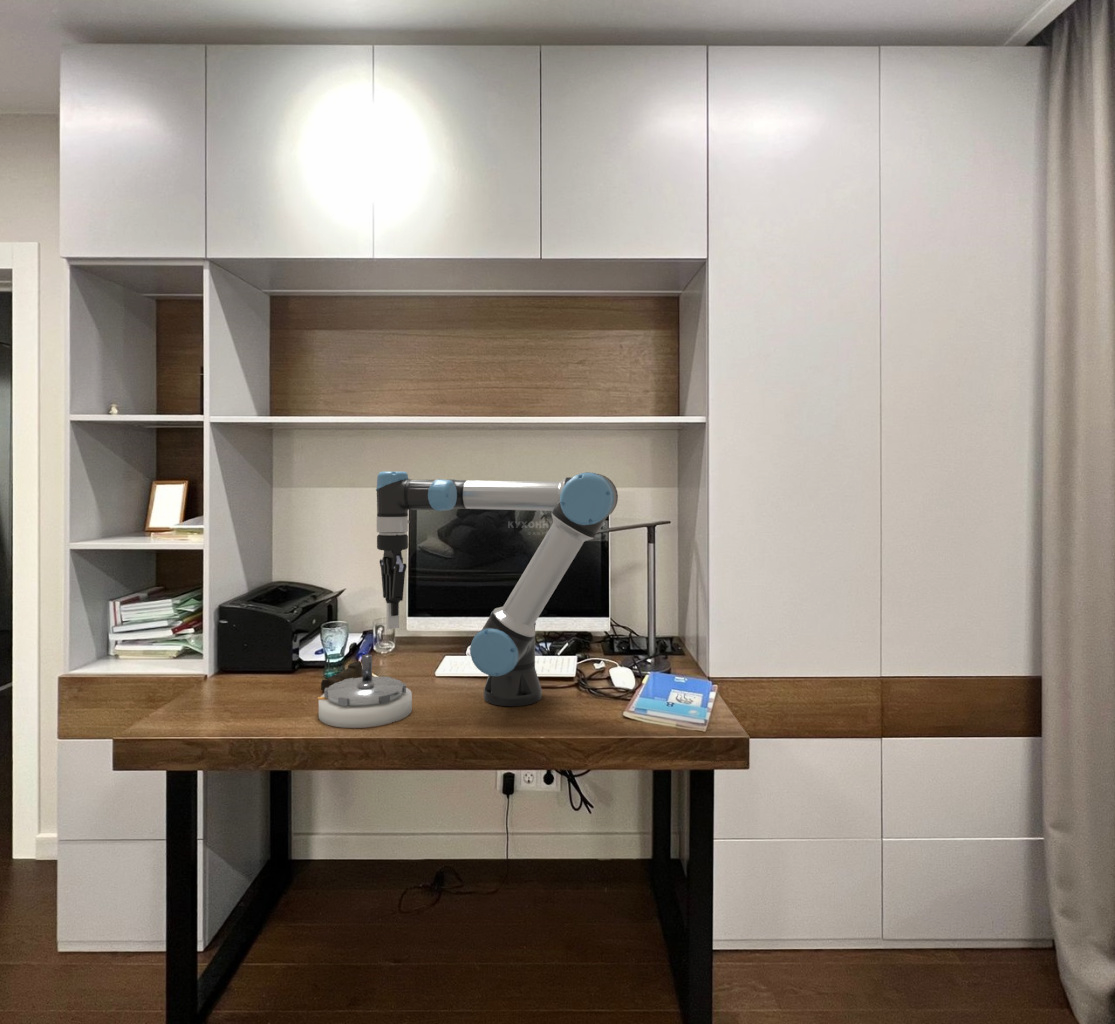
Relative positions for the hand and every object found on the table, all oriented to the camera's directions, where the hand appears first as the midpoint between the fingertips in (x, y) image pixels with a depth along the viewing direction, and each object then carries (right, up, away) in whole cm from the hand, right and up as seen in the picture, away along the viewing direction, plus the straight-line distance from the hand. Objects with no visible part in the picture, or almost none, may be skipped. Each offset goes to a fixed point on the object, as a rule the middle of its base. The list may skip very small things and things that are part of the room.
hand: (392, 627), depth 176 cm
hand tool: (-19, -20, +22) cm, 35 cm away
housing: (-6, -20, -3) cm, 21 cm away
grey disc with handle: (-6, -16, -3) cm, 17 cm away
